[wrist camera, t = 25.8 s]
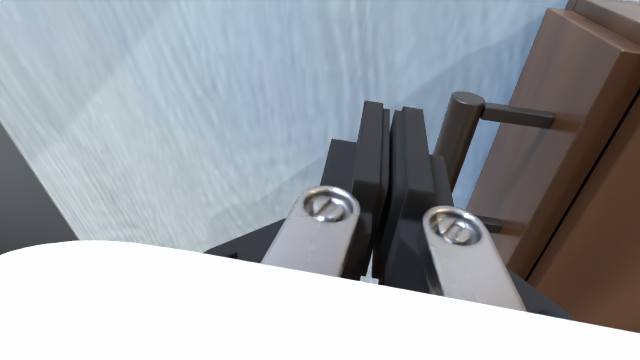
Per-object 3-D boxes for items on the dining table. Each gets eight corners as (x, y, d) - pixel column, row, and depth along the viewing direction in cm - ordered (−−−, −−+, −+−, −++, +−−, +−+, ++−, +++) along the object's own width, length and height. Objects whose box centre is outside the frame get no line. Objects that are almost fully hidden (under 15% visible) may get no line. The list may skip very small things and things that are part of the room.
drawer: (397, 208, 26) (401, 291, 20) (455, -5, 19) (488, 32, 13) (672, 252, 25) (759, 353, 19) (851, 46, 18) (1079, 111, 12)
